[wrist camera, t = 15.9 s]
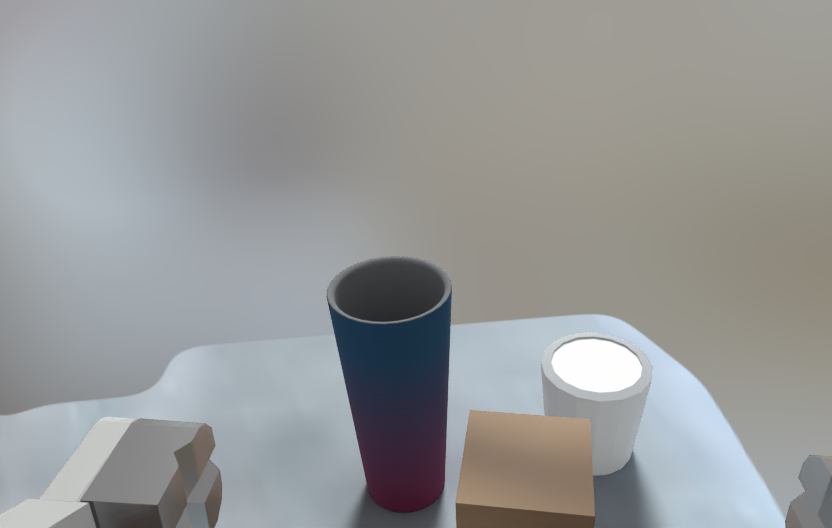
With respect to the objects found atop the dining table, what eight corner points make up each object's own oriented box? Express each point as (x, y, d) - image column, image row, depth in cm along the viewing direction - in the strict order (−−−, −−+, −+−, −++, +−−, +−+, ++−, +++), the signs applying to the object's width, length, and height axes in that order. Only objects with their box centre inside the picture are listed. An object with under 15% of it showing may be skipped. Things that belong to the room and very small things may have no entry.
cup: (459, 524, 44) (451, 322, 36) (347, 525, 44) (317, 325, 36) (458, 443, 49) (451, 254, 42) (359, 444, 50) (335, 257, 42)
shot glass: (522, 421, 51) (524, 341, 47) (611, 401, 52) (620, 322, 49) (562, 494, 45) (568, 409, 42) (661, 469, 46) (675, 386, 43)
